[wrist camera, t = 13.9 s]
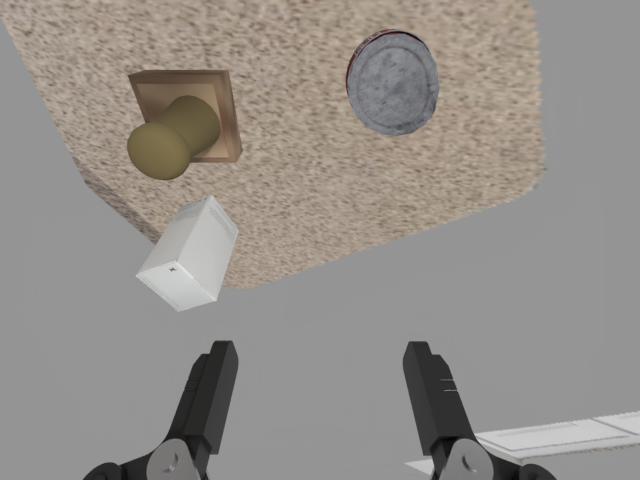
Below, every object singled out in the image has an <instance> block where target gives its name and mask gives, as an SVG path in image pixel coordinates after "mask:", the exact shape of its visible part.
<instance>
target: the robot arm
mask: <svg viewBox="0 0 640 480" xmlns="http://www.w3.org/2000/svg"><path fill="white" fill-rule="evenodd" d="M238 364H239V359H238V355H237V352H236V349H235V346H234V344H233V341H232V340H216V341H214V343H213V344H212V347H211V350H210V353H209V354H201V355H200V356H199V358H198V359H197V360H196V362H195V363H194V364H193V366H192V369H191V371H190V374H189V377H188V380H187V382H186V385H185V388H184V391H183V393H182V396H181V399H180V402H179V404H178V407H177V410H176V413H175V415H174V418H173V421H172V424H171V426H170V429H169V431H168V434H167V435H166V437H165V439H164V440H163V441H162V443H161V444H160V445H159V446H158V447H157V448H156V449H154V450H153V451H152V452H150V453H149V454H147V455H145V456H142V457H139V458H137V459H134V460H131V461H129V462H126V463H123V464H121V465H117V464H115V463H113V462H107V463H103V464H101V465H99V466H97V467H95V468H94V469H93V470H91V471H90V472H89V473H88V474H87V475H86V476H85V477H84V479H83V480H211V479H210V476H209V473H208V470H207V465H208V461H209V457H210V455H218V453H219V449H220V445H221V440H222V436H223V432H224V427H225V423H226V419H227V414H228V410H229V406H230V402H231V397H232V393H233V389H234V384H235V380H236V376H237V371H238ZM403 371H404V376H405V380H406V384H407V388H408V393H409V397H410V401H411V405H412V410H413V414H414V418H415V422H416V427H417V431H418V435H419V439H420V444H421V448H422V452H423V456H432V460H433V464H434V467H433V470H432V473H431V476H430V479H429V480H557V479H556V478H555V477H554V476H553V475H552V474H551V473H550V472H549V471H548V470H546V469H545V468H543V467H541V466H539V465H537V464H526V465H524V466H520V465H518V464H515V463H512V462H510V461H507V460H505V459H502V458H499V457H497V456H495V455H493V454H491V453H490V452H488V451H487V450H486V449H485V448H484V447H483V446H482V445H481V444H480V443H479V442H478V440H477V439H476V437H475V435H474V433H473V431H472V428H471V425H470V423H469V420H468V417H467V414H466V412H465V409H464V406H463V404H462V401H461V398H460V395H459V393H458V392H457V387H456V385H455V382H454V381H453V376H452V374H451V371H450V368H449V366H448V364H447V363H446V362H445V361H444V359H443V358H442V357H441V355H440V354H432V353H431V350H430V347H429V344H428V343H427V342H426V341H409V342H408V345H407V348H406V351H405V353H404V356H403Z"/></svg>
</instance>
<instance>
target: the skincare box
mask: <svg viewBox="0 0 640 480" xmlns="http://www.w3.org/2000/svg"><path fill="white" fill-rule="evenodd" d="M238 232H239V230H238V229H237V227H236V226H235V225H234V223H233V222H232V221H231V219H230V218H229V216H228V215H227V214H226V212H225V211H224V210H223V208H222V207H221V206H220V204H219V203H218V202H217V200H216V199H215V198H214V196H213V195H210V196H207V197H205V198H202V199H199V200H197V201H194V202H192V203H189V204H186V205H184V206H181V207H180V209H179V210H178V212H177V213H176V215H175V216H174V218H173V219H172V221H171V222H170V224H169V225H168V227H167V228H166V230H165V231H164V233H163V235H162V236H161V238H160V239H159V241H158V242H157V244H156V245H155V247H154V248H153V250H152V251H151V253H150V254H149V256H148V257H147V259H146V261H145V262H144V264H143V265H142V267H141V268H140V270H139V271H138V273H137V274H136V277H137V278H138V279H140V280H141V281H142V282H143V283H145V284H146V285H147V286H148V287H149V288H151V289H152V290H153V291H154V292H155V293H157V294H158V295H159V296H160V297H161V298H163V299H164V300H165V301H166V302H167V303H169V304H170V305H171V306H172V307H173V308H174V309H176V310H177V311H178V312H180V311H184V310H187V309H190V308H193V307H197V306H200V305H204V304H207V303H211V302H214V301H217V298H218V295H219V292H220V288H221V285H222V282H223V279H224V276H225V273H226V270H227V266H228V263H229V260H230V257H231V254H232V251H233V248H234V245H235V241H236V238H237V235H238Z"/></svg>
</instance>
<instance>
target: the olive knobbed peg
mask: <svg viewBox="0 0 640 480" xmlns="http://www.w3.org/2000/svg"><path fill="white" fill-rule="evenodd" d="M220 132H221V129H220V121H219V119H218V116H217V114H216V113H215V111H214V110H213V108H212V107H211V106H210V105H209V104H208V103H206V102H205V101H204V100H202V99H200V98H198V97H196V96H189V95H185V96H180V97H178V98H177V99H175V100H174V101H173V102H172V103H171V104H170V105H169V106H168V107H167V109H166V110H165V111H164V112H163V113H162V114H161V116H160V117H159V118H158V119H157V120H156V121H155V122H153V123H146V124H142V125H140V126H139V127H137V128H136V129H134V130H133V131H132V133H131V135H130V136H129V138H128V140H127V151H128V155H129V158H130V160H131V161H132V163H133V165H134V166H135V167H136V168H137V169H138V170H139V171H140V172H142V173H143V174H145V175H146V176H148V177H150V178H153V179H157V180H164V181H167V180H173V179H175V178H177V177H179V176H181V175H183V173H184V172H185V171H186V169H187V168H188V167H189V163H190V159H191V158H193V157H194V156H196V155H197V154H199V153H200V152H202V151H204V150H205V149H207V148H208V147H210V146H211V145H213V144H215V142H216V141H217V140H218V138H219V135H220Z"/></svg>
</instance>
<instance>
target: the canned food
mask: <svg viewBox="0 0 640 480" xmlns="http://www.w3.org/2000/svg"><path fill="white" fill-rule="evenodd" d="M439 89H440V85H439V78H438V71H437V65H436V62H435V60H434V59H433V57H432V55H431V52H430V50H429V48H428V46H427V45H426V44H425V42H424V41H423V40H422V39H421V38H420V37H418V36H417V35H416V34H413V33H411V32H409V31H405V30H398V29H384V30H381V31H378V32H376V33H374V34H372V35H370V36H369V37H367V38H366V39H365V40H364V41H363V42H362V43H361V44H360V45H359V46H358V47H357V49H356V50H355V51H354V53H353V55H352V57H351V59H350V61H349V64H348V67H347V72H346V90H347V95H348V98H349V101H350V104H351V106H352V108H353V111H354V113H355V116H356V117H357V118H358V119H359V120H361V122H362V123H363V124H364V125H365V126H366V127H367V128H369V129H371V130H374V131H376V132H377V133H379V134H381V135H391V136H401V135H405V134H411V133H413V132H415V131H416V130H418V129H419V128H421V127H422V126H424V125H425V124H426V123H427V122H428V120H429V119H430V118H431V116H432V115H433V113H434V112H435V110H436V104H437V99H438V94H439Z"/></svg>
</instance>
